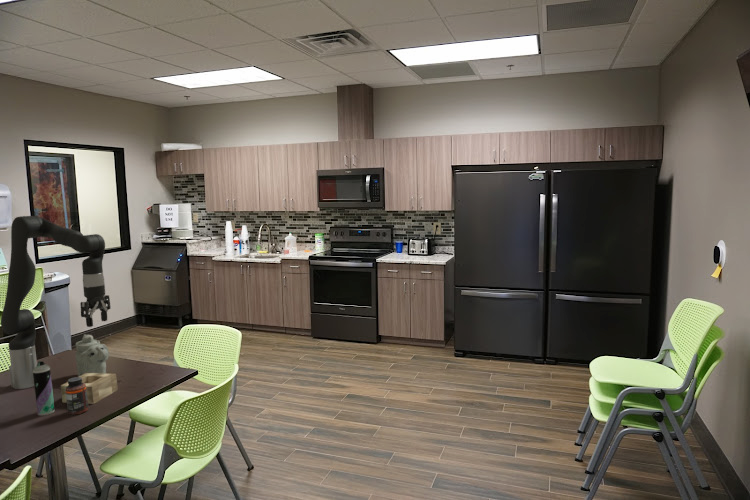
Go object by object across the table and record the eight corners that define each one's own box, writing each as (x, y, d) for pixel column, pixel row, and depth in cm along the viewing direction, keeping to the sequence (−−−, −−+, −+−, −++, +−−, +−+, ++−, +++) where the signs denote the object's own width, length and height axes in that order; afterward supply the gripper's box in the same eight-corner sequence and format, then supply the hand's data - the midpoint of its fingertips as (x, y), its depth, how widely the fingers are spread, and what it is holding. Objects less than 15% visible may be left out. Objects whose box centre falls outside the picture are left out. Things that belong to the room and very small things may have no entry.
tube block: (62, 402, 201) (60, 385, 200) (87, 388, 215) (86, 372, 214) (93, 403, 199) (92, 386, 198) (117, 390, 213) (116, 373, 212)
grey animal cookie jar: (106, 380, 224) (102, 339, 222) (69, 384, 221) (64, 342, 219) (116, 368, 240) (113, 329, 238) (81, 371, 237) (77, 332, 235)
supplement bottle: (84, 406, 197) (81, 374, 195) (91, 410, 193) (88, 378, 191) (65, 412, 192) (61, 379, 190) (72, 417, 187) (68, 383, 186)
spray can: (36, 416, 189) (30, 364, 186) (38, 411, 193) (32, 360, 191) (54, 413, 191) (48, 362, 189) (55, 408, 196) (49, 358, 194)
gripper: (97, 281, 211) (100, 319, 213) (72, 287, 197) (76, 328, 199) (114, 281, 210) (117, 319, 212) (90, 287, 196) (93, 328, 198)
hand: (97, 323), depth 206 cm, fingers open, 8 cm apart
